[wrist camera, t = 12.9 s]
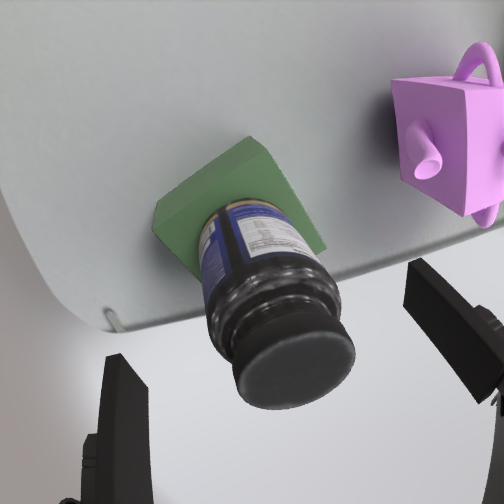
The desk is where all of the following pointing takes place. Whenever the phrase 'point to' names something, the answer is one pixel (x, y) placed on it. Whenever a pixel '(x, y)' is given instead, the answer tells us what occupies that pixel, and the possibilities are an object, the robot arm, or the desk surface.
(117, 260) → the desk surface
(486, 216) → the teapot
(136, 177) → the desk surface
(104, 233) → the desk surface
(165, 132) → the desk surface
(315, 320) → the pill bottle
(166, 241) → the block
